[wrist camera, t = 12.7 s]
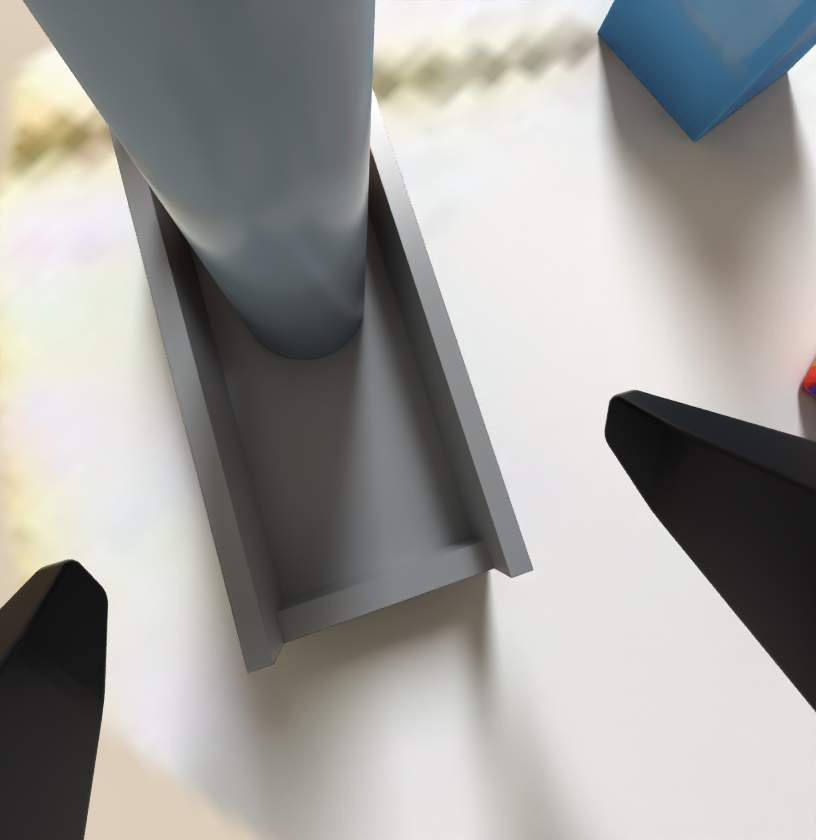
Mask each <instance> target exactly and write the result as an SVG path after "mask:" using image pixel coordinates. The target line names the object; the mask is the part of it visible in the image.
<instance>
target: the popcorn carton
mask: <svg viewBox="0 0 816 840" xmlns="http://www.w3.org/2000/svg"><path fill="white" fill-rule="evenodd" d="M804 388H805V389H806V390H807V391H808V392H809V393H810V394H811V395H813V396H814V397H815V398H816V359H815V361H814V363H813V364H812V366H811V368H810V370H809V372H808V373H807V375H806V377H805V379H804Z"/></svg>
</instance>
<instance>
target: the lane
mask: <svg viewBox="0 0 816 840" xmlns="http://www.w3.org/2000/svg"><path fill="white" fill-rule="evenodd" d="M109 130H110V134H111V138H112V142H113V146H114V150H115V153H116V157H117V161H118V165H119V169H120V173H121V177H122V181H123V185H124V189H125V193H126V197H127V201H128V205H129V208H130V212H131V216H132V220H133V224H134V228H135V232H136V236H137V240H138V244H139V248H140V252H141V256H142V260H143V263H144V267H145V271H146V275H147V279H148V283H149V287H150V291H151V295H152V299H153V303H154V307H155V311H156V315H157V318H158V322H159V326H160V330H161V334H162V338H163V342H164V346H165V350H166V354H167V358H168V362H169V366H170V370H171V373H172V377H173V381H174V385H175V389H176V393H177V397H178V401H179V405H180V409H181V413H182V417H183V421H184V425H185V429H186V432H187V436H188V440H189V444H190V448H191V452H192V456H193V460H194V464H195V468H196V472H197V476H198V480H199V484H200V487H201V491H202V495H203V499H204V503H205V507H206V511H207V515H208V519H209V523H210V527H211V531H212V535H213V539H214V542H215V546H216V550H217V554H218V558H219V562H220V566H221V570H222V574H223V578H224V582H225V586H226V590H227V594H228V597H229V601H230V605H231V609H232V613H233V617H234V621H235V625H236V629H237V633H238V637H239V641H240V645H241V649H242V652H243V656H244V660H245V664H246V668H247V672H248V673H250V672H253V671H256V670H258V669H261V668H264V667H267V666H269V665H272V664H274V663H275V660H276V658H277V656H278V654H279V652H280V650H281V648H282V646H283V644H284V643H286V642H288V641H291V640H294V639H297V638H300V637H302V636H305V635H308V634H311V633H314V632H316V631H319V630H322V629H325V628H328V627H331V626H333V625H336V624H339V623H342V622H345V621H347V620H350V619H353V618H356V617H359V616H361V615H364V614H367V613H370V612H373V611H375V610H378V609H381V608H384V607H387V606H390V605H392V604H395V603H398V602H401V601H404V600H406V599H409V598H412V597H415V596H418V595H420V594H423V593H426V592H429V591H432V590H434V589H437V588H440V587H443V586H446V585H449V584H451V583H454V582H457V581H460V580H463V579H465V578H468V577H471V576H474V575H477V574H479V573H482V572H485V571H488V570H491V569H496V570H498V571H500V572H502V573H504V574H505V575H507V576H509V577H511V578H513V577H516V576H518V575H521V574H524V573H527V572H530V571H532V570H533V567H532V564H531V561H530V558H529V555H528V552H527V549H526V546H525V543H524V540H523V537H522V535H521V532H520V529H519V526H518V523H517V520H516V517H515V514H514V511H513V508H512V505H511V502H510V499H509V496H508V493H507V490H506V487H505V484H504V481H503V478H502V475H501V472H500V469H499V466H498V463H497V460H496V457H495V454H494V451H493V448H492V445H491V442H490V439H489V436H488V433H487V430H486V427H485V424H484V421H483V418H482V415H481V412H480V409H479V406H478V403H477V400H476V397H475V394H474V391H473V388H472V385H471V382H470V379H469V376H468V373H467V370H466V367H465V364H464V361H463V358H462V355H461V352H460V349H459V346H458V343H457V340H456V337H455V334H454V331H453V328H452V325H451V322H450V319H449V316H448V313H447V310H446V307H445V304H444V301H443V298H442V295H441V292H440V289H439V286H438V283H437V280H436V277H435V274H434V271H433V268H432V265H431V262H430V259H429V256H428V253H427V250H426V247H425V244H424V241H423V238H422V235H421V232H420V229H419V226H418V223H417V220H416V217H415V214H414V211H413V208H412V205H411V202H410V199H409V196H408V193H407V190H406V187H405V184H404V181H403V178H402V175H401V172H400V169H399V166H398V163H397V160H396V157H395V154H394V151H393V148H392V145H391V142H390V139H389V136H388V133H387V130H386V127H385V124H384V121H383V118H382V115H381V112H380V109H379V106H378V103H377V100H376V97H375V94H374V91H373V88H372V104H371V132H370V160H369V189H368V217H367V246H366V274H365V302H364V313H363V317H362V320H361V323H360V325H359V327H358V329H357V331H356V332H355V334H354V335H353V337H352V338H351V339H350V340H349V341H348V342H347V343H346V344H345V345H344V346H343V347H341V348H340V349H338V350H337V351H335V352H333V353H331V354H329V355H327V356H324V357H321V358H316V359H309V360H297V359H290V358H286V357H283V356H280V355H277V354H275V353H273V352H271V351H270V350H268V349H266V348H265V347H264V346H262V345H261V344H260V343H259V342H258V341H257V340H256V339H255V338H254V337H253V336H252V334H251V333H250V331H249V330H248V328H247V327H246V326H245V324H244V323H243V321H242V320H241V318H240V317H239V315H238V314H237V312H236V311H235V310H234V308H233V307H232V305H231V304H230V302H229V301H228V299H227V298H226V296H225V295H224V293H223V292H222V291H221V289H220V288H219V286H218V285H217V283H216V282H215V280H214V279H213V277H212V276H211V274H210V273H209V272H208V270H207V269H206V267H205V266H204V264H203V263H202V261H201V260H200V258H199V257H198V255H197V254H196V253H195V251H194V250H193V248H192V247H191V245H190V244H189V242H188V241H187V239H186V238H185V237H184V235H183V234H182V232H181V231H180V229H179V228H178V226H177V225H176V223H175V222H174V220H173V219H172V218H171V216H170V215H169V213H168V212H167V210H166V209H165V207H164V206H163V204H162V203H161V201H160V200H159V199H158V197H157V196H156V194H155V193H154V191H153V190H152V188H151V187H150V185H149V184H148V183H147V181H146V180H145V178H144V177H143V175H142V174H141V172H140V171H139V169H138V168H137V166H136V165H135V164H134V162H133V161H132V159H131V158H130V156H129V155H128V153H127V152H126V150H125V149H124V147H123V146H122V145H121V143H120V142H119V140H118V139H117V137H116V136H115V134H114V133H113V131H112V130H111V128H110V127H109Z"/></svg>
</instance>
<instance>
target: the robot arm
mask: <svg viewBox="0 0 816 840" xmlns="http://www.w3.org/2000/svg"><path fill="white" fill-rule="evenodd" d="M605 438H606V441H607V443H608V445H609V447H610V448H611V450H612V451H613V453H614V454H615V456H616V458H617V459H618V461H619V462H620V464H621V465H622V467H623V468H624V470H625V471H626V473H627V474H628V476H629V477H630V479H631V480H632V482H633V483H634V485H635V486H636V488H637V490H638V491H639V493H640V494H641V496H642V497H643V499H644V500H645V502H646V503H647V504H648V506H649V507H650V509H651V510H652V512H653V513H654V514H655V515H656V517H657V518H658V519H659V521H660V522H661V523H662V524H663V526H664V527H665V528H666V529H667V530H668V532H669V533H670V534H671V535H672V537H673V538H674V539H675V540H676V542H677V543H678V544H679V545H680V546H681V548H682V549H683V550H684V551H685V553H686V554H687V555H688V556H689V557H690V559H691V560H692V561H693V562H694V564H695V565H696V566H697V567H698V568H699V570H700V571H701V572H702V573H703V575H704V576H705V577H706V578H707V579H708V581H709V582H710V583H711V584H712V586H713V587H714V588H715V589H716V590H717V592H718V593H719V594H720V595H721V597H722V598H723V599H724V600H725V601H726V603H727V604H728V605H729V606H730V608H731V609H732V610H733V611H734V612H735V614H736V615H737V616H738V617H739V619H740V620H741V621H742V622H743V624H744V625H745V626H746V627H747V628H748V630H749V631H750V632H751V633H752V635H753V636H754V637H755V638H756V639H757V641H758V642H759V643H760V644H761V646H762V647H763V648H764V649H765V650H766V652H767V653H768V654H769V655H770V657H771V658H772V659H773V660H774V661H775V663H776V664H777V665H778V666H779V668H780V669H781V670H782V671H783V672H784V674H785V675H786V676H787V677H788V679H789V680H790V681H791V682H792V683H793V685H794V686H795V687H796V688H797V690H798V691H799V692H800V693H801V694H802V696H803V697H804V698H805V699H806V701H807V702H808V703H809V704H810V706H811V707H812V708H813V709H814V710H815V712H816V441H812V440H809V439H805V438H802V437H798V436H795V435H791V434H788V433H784V432H781V431H777V430H774V429H770V428H767V427H763V426H760V425H757V424H753V423H750V422H746V421H743V420H739V419H736V418H732V417H729V416H725V415H722V414H718V413H715V412H711V411H708V410H704V409H701V408H697V407H694V406H690V405H687V404H683V403H680V402H676V401H673V400H669V399H666V398H662V397H659V396H655V395H652V394H649V393H645V392H642V391H638V390H630V391H627V392H623V393H620V394H617V395H614V396H613V397H612V398H611V400H610V402H609V406H608V412H607V419H606V425H605ZM107 618H108V599H107V595H106V592H105V590H104V589H103V587H102V586H101V585H100V584H99V583H98V582H97V581H96V580H95V579H94V578H93V576H92V575H91V574H90V573H89V572H88V571H87V570H86V569H85V568H84V567H83V566H82V565H81V564H80V563H79V562H78V561H75V560H73V559H70V560H64V561H61V562H57V563H54V564H51V565H47V566H45V567H43V568H41V569H39V570H38V571H37V572H36V573H35V574H34V575H33V576H32V577H31V578H30V579H29V580H28V581H27V582H26V583H25V584H24V585H23V586H22V587H21V588H20V589H19V590H18V591H17V592H16V593H15V594H14V595H13V596H12V598H11V599H10V600H9V601H8V602H7V603H6V604H5V605H4V606H3V607H2V608H1V609H0V840H84V835H85V828H86V821H87V814H88V808H89V802H90V795H91V788H92V781H93V775H94V768H95V761H96V755H97V748H98V741H99V735H100V728H101V721H102V714H103V706H104V694H105V675H106V647H107Z"/></svg>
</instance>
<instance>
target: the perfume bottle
mask: <svg viewBox="0 0 816 840" xmlns="http://www.w3.org/2000/svg"><path fill="white" fill-rule="evenodd" d="M598 34H599V35H600V36H601V37H602V38H603V39H604V40H605V42H606V43H607V44H608V45H609V46H610V47H611V48H612V50H613V51H614V52H615V53H616V54H617V55H618V56H619V57H620V59H621V60H622V61H623V62H624V63H625V64H626V65H627V67H628V68H629V69H630V70H631V71H632V72H633V73H634V74H635V76H636V77H637V78H638V79H639V80H640V81H641V82H642V84H643V85H644V86H645V87H646V88H647V89H648V90H649V91H650V93H651V94H652V95H653V96H654V97H655V98H656V99H657V101H658V102H659V103H660V104H661V105H662V106H663V107H664V108H665V110H666V111H667V112H668V113H669V114H670V115H671V116H672V118H673V119H674V120H675V121H676V122H677V123H678V124H679V125H680V127H681V128H682V129H683V130H684V131H685V132H686V133H687V135H688V136H689V137H690V138H691V139H692V140H693V141H694V142H695V141H697V140H698V139H699V138H701V137H702V136H703V135H705V134H706V133H707V132H709V131H710V130H711V129H713V128H714V127H715V126H716V125H718V124H719V123H720V122H722V121H723V120H724V119H726V118H727V117H728V116H730V115H731V114H732V113H734V112H735V111H736V110H738V109H739V108H740V107H742V106H743V105H744V104H745V103H747V102H748V101H749V100H751V99H752V98H753V97H755V96H756V95H757V94H759V93H760V92H761V91H763V90H764V89H765V88H767V87H768V86H769V85H771V84H772V83H773V82H774V81H776V80H777V79H778V78H780V77H781V76H782V75H784V74H785V73H786V72H788V71H789V70H790V69H791V68H792V67H793V66H794V65H795V64H796V63H797V62H798V61H799V60H800V59H801V58H802V57H803V56H804V55H805V54H806V53H807V52H808V51H809V50H810V49H811V48H812V47H813V46H814V45H815V44H816V0H614V2H613V4H612V6H611V8H610V10H609V12H608V14H607V16H606V18H605V20H604V21H603V23H602V25H601V27H600V29H599V31H598Z"/></svg>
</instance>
